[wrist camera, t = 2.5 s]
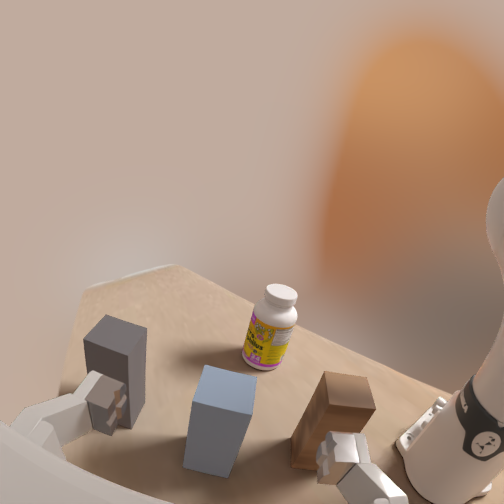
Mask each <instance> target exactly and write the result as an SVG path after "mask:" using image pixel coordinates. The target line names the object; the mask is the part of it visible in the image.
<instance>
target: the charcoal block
mask: <svg viewBox="0 0 504 504" xmlns="http://www.w3.org/2000/svg"><path fill="white" fill-rule="evenodd" d="M83 341H84V351H85V359H86V367H87V375H88V373H89V372H91V371H92V370H93V371H96V372H98V373H100V374H103V375H105V376H108V377H110V378H112V379H115V380H117V381H120V382H122V383H125V384H126V388H127V390H126V392H125V395H126V397H127V407H126V410H125V413H124V415H123V416H122V418H120V419H117V422H118V425H121V426H124V427H126V428H129V429H132V427H133V425H134V423H135V421H136V419H137V417H138V415H139V413H140V411H141V409H142V407H143V405H144V403H145V368H146V341H147V328H145V327H142V326H138V325H135V324H132V323H129V322H126V321H123V320H120V319H117V318H114V317H112V316H109V315H105V316H104V317H103V318H102V319H101V320H100V321H99V323H98V324H97V325H96V326H95V327H94V328H93V329H92V330H91V331H90V332H89V333H88V334H87V335H86V336H85V337H84V339H83Z"/></svg>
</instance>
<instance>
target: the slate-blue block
mask: <svg viewBox="0 0 504 504" xmlns="http://www.w3.org/2000/svg"><path fill="white" fill-rule="evenodd" d="M256 382H257V377H255V376H250V375H246V374H241V373H237V372H233V371H228V370H224V369H220V368H216V367H212V366H209V365H205V366H204V369H203V372H202V375H201V378H200V381H199V383H198V386H197V389H196V392H195V395H194V398H193V401H192V407H191V414H190V420H189V427H188V434H187V440H186V447H185V454H184V461H183V468H187V469H190V470H194V471H198V472H202V473H206V474H211V475H215V476H220V477H224V478H228V477H229V474H230V472H231V469H232V467H233V464H234V462H235V459H236V457H237V454H238V452H239V449H240V447H241V444H242V441H243V439H244V436H245V433H246V431H247V428H248V425H249V423H250V420H251V417H252V414H253V406H254V398H255V390H256Z"/></svg>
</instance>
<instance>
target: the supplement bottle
mask: <svg viewBox="0 0 504 504" xmlns="http://www.w3.org/2000/svg"><path fill="white" fill-rule="evenodd" d="M264 295H265V298H263V299H260V300H259V301H258V302H257V303H256V304H255V306H254V309H253V313H252V317H251V321H250V324H249V328H248V332H247V335H246V339H245V343H244V346H243V350H242V356H243V358H244V360H245V361H246V362H247V363H248V364H249V365H250V366H252V367H254V368H256V369H259V370H272V369H275V368H277V367H278V366H279V365H280V364H281V362H282V359H283V357H284V354H285V351H286V348H287V346H288V343H289V340H290V337H291V334H292V331H293V329H294V326H295V323H296V320H297V312H296V309H295V308H294V307H293V305H294V304H295V303H296V299H297V293H296V291H295V290H293V289H292V288H290V287H288V286H285V285H281V284H270V285H268V286H267V288H266V290H265V294H264Z"/></svg>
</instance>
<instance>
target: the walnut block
mask: <svg viewBox="0 0 504 504" xmlns="http://www.w3.org/2000/svg"><path fill="white" fill-rule="evenodd" d="M375 410H376V407H375V403H374V400H373V397H372V393H371V390H370V387H369V383H368V380H367V377H361V376H354V375H347V374H340V373H334V372H328V371H324V373H323V375H322V377H321V380H320V382H319V384H318V386H317V388H316V390H315V392H314V394H313V396H312V398H311V400H310V402H309V404H308V406H307V408H306V410H305V412H304V414H303V416H302V418H301V420H300V422H299V423H298V425H297V427H296V429H295V431H294V433H293V435H292V436H291V468H298V469H308V470H318V469H319V467H320V466H319V465H318V464H317V463H316V453H317V450H318V447H319V445H320V443H321V442H323V441H325V436H326V434H327V433H328V432H329V431H336V432H350V433H360V432H361V430H362V429H363V428H364V426H365V425H366V423H367V422H368V420H369V419H370V417H371V416H372V414H373V413H374V411H375Z"/></svg>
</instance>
